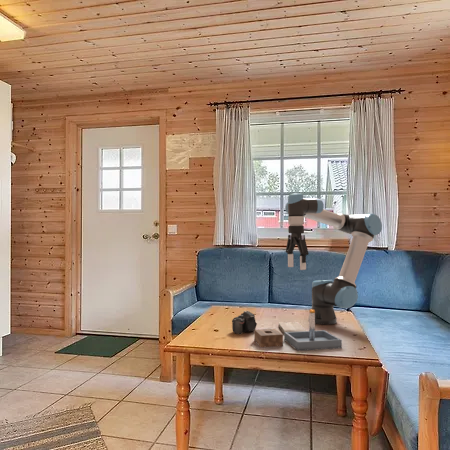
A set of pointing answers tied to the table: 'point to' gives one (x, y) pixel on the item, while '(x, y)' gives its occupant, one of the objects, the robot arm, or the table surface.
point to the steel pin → (311, 325)
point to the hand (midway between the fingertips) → (296, 268)
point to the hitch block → (268, 337)
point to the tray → (321, 341)
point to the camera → (244, 323)
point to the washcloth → (291, 327)
